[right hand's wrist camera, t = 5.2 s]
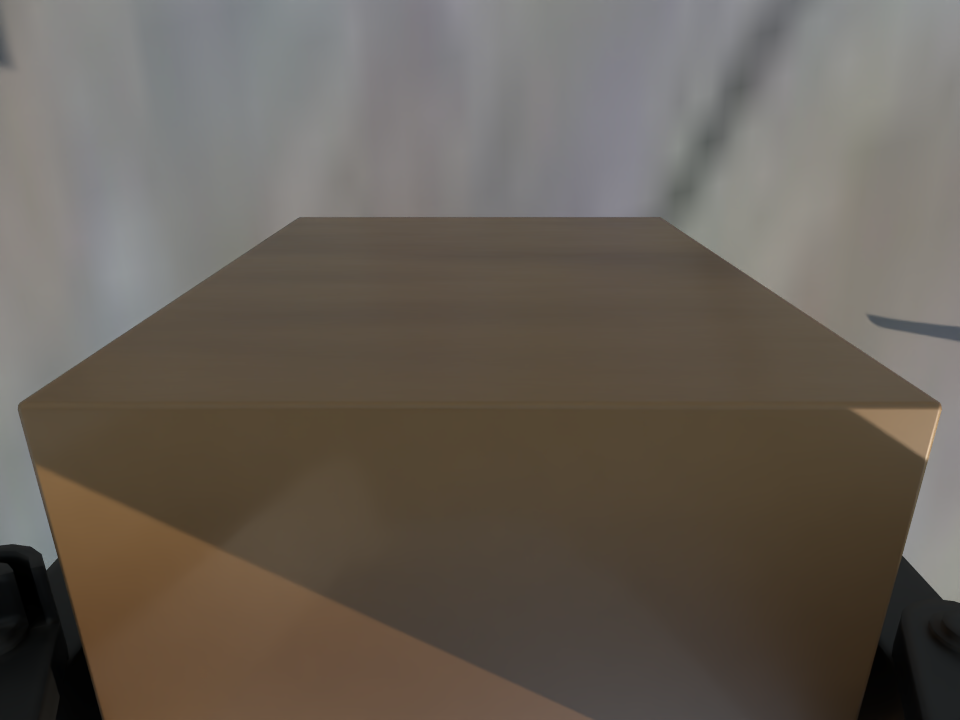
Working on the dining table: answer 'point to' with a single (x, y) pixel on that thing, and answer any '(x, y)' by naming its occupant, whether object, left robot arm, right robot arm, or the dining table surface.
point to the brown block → (479, 484)
